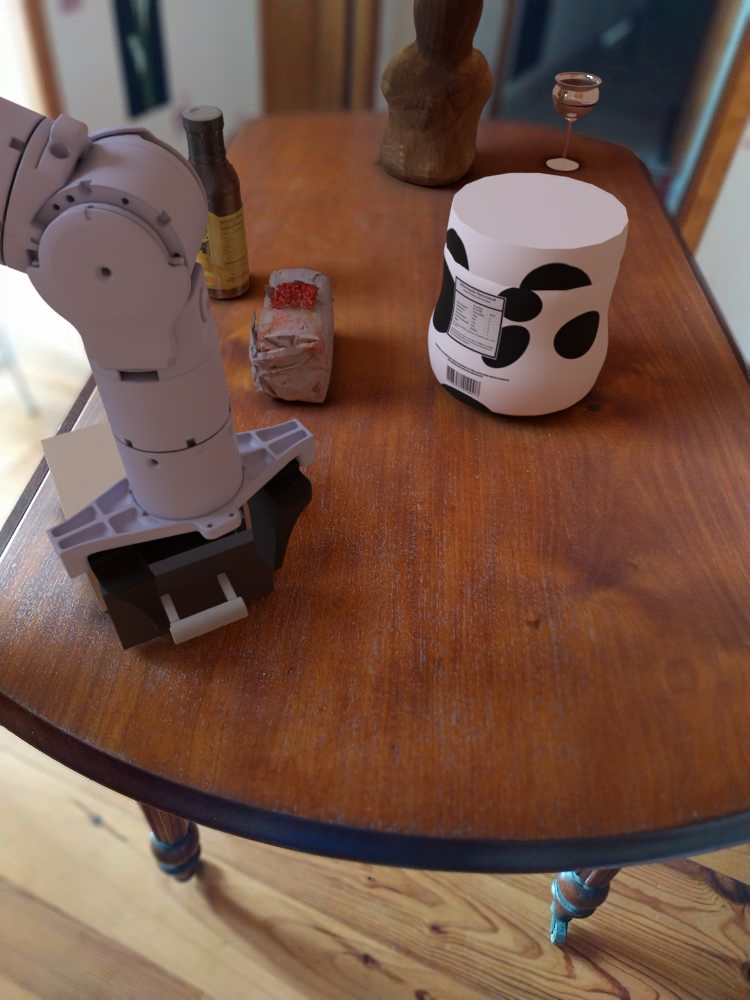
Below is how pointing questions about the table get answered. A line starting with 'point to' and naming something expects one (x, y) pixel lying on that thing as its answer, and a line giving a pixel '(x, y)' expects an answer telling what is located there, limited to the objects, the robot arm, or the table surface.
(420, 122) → the ceramic vessel
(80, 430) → the beige box-shaped shell
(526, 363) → the milk container
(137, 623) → the drawer
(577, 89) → the wineglass
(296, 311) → the food item
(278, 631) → the table surface
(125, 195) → the robot arm
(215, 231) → the sauce bottle
